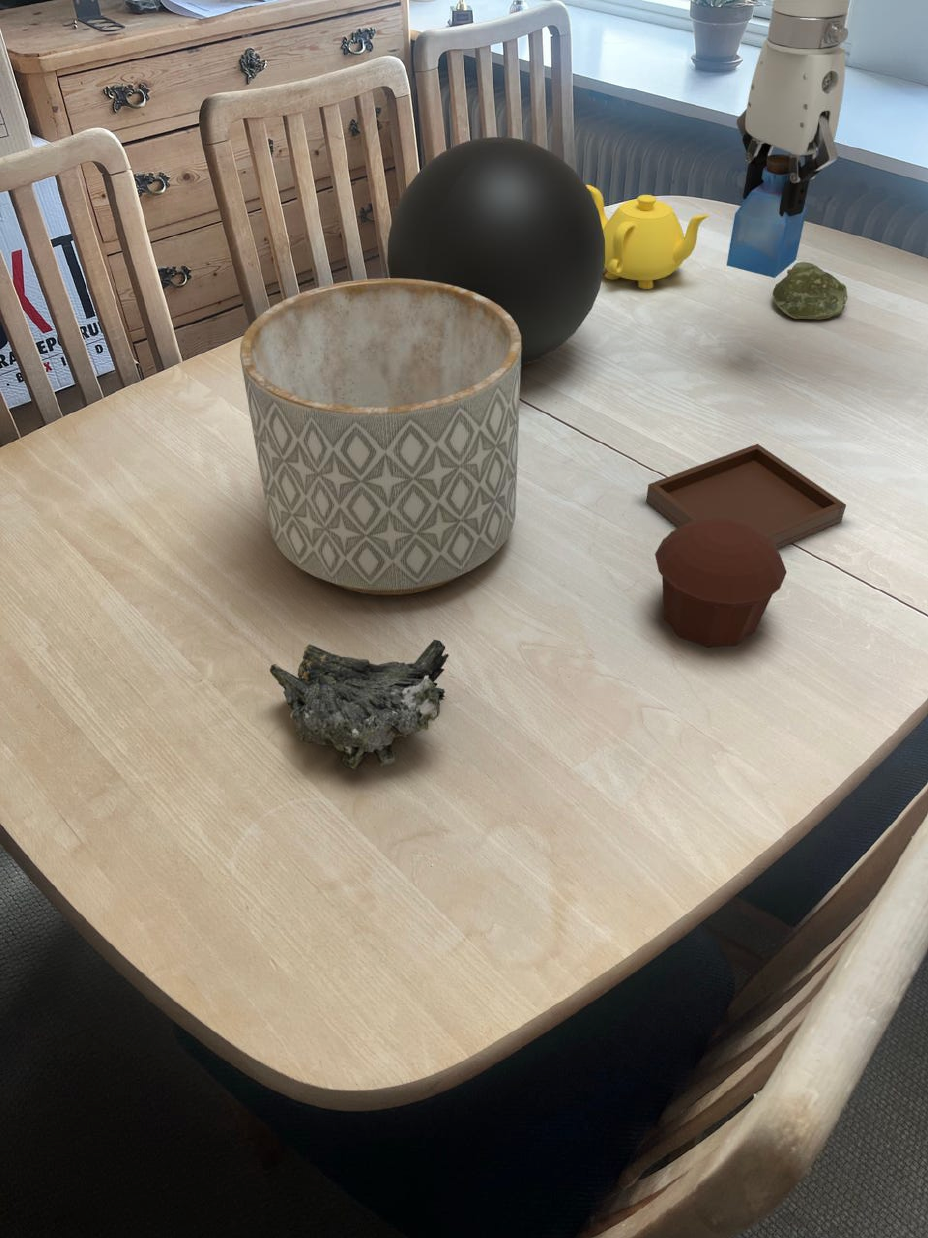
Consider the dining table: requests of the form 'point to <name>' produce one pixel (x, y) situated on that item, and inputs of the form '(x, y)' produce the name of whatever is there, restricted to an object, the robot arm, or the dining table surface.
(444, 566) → the planter
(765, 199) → the perfume bottle
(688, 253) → the teapot
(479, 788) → the dining table surface
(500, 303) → the ball
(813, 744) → the dining table surface
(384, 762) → the mineral specimen
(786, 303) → the olive green rounded lump
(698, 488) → the tray
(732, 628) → the muffin
